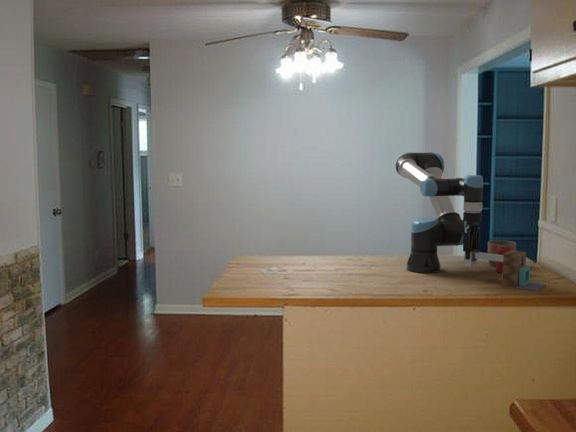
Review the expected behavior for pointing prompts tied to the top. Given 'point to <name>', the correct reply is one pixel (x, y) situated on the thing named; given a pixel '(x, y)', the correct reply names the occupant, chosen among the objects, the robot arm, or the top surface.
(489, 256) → the shaft
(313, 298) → the top surface
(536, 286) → the pad
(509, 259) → the bearing block
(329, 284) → the top surface
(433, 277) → the top surface
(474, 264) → the robot arm
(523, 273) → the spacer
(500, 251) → the beer can
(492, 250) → the planter
